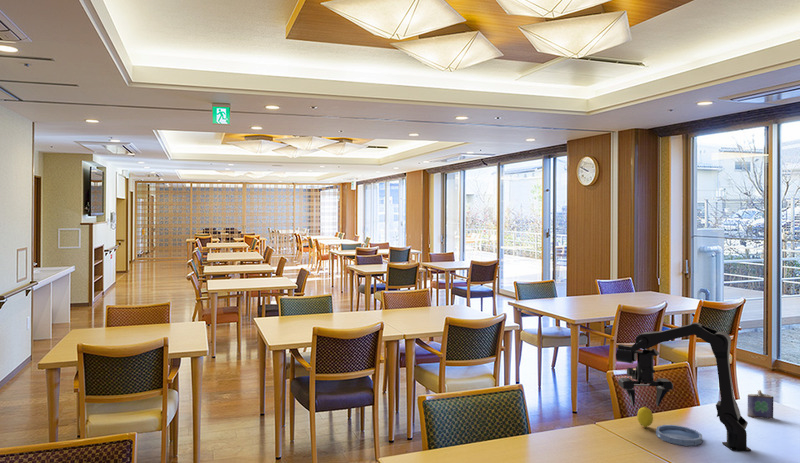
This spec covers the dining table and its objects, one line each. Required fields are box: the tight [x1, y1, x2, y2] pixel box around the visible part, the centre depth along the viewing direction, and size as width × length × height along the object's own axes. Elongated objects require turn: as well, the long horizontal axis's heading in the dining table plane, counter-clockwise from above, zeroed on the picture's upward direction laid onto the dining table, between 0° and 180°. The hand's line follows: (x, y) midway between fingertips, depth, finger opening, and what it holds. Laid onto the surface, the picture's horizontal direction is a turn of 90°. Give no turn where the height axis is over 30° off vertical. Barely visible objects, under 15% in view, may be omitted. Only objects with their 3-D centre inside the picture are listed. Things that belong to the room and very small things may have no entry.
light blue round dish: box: [655, 424, 703, 447], centre depth 193 cm, size 15×15×2 cm
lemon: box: [636, 406, 654, 428], centre depth 203 cm, size 6×6×8 cm
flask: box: [746, 390, 774, 419], centre depth 215 cm, size 9×3×11 cm, turn 76°
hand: (645, 405), depth 203 cm, fingers open, 9 cm apart
